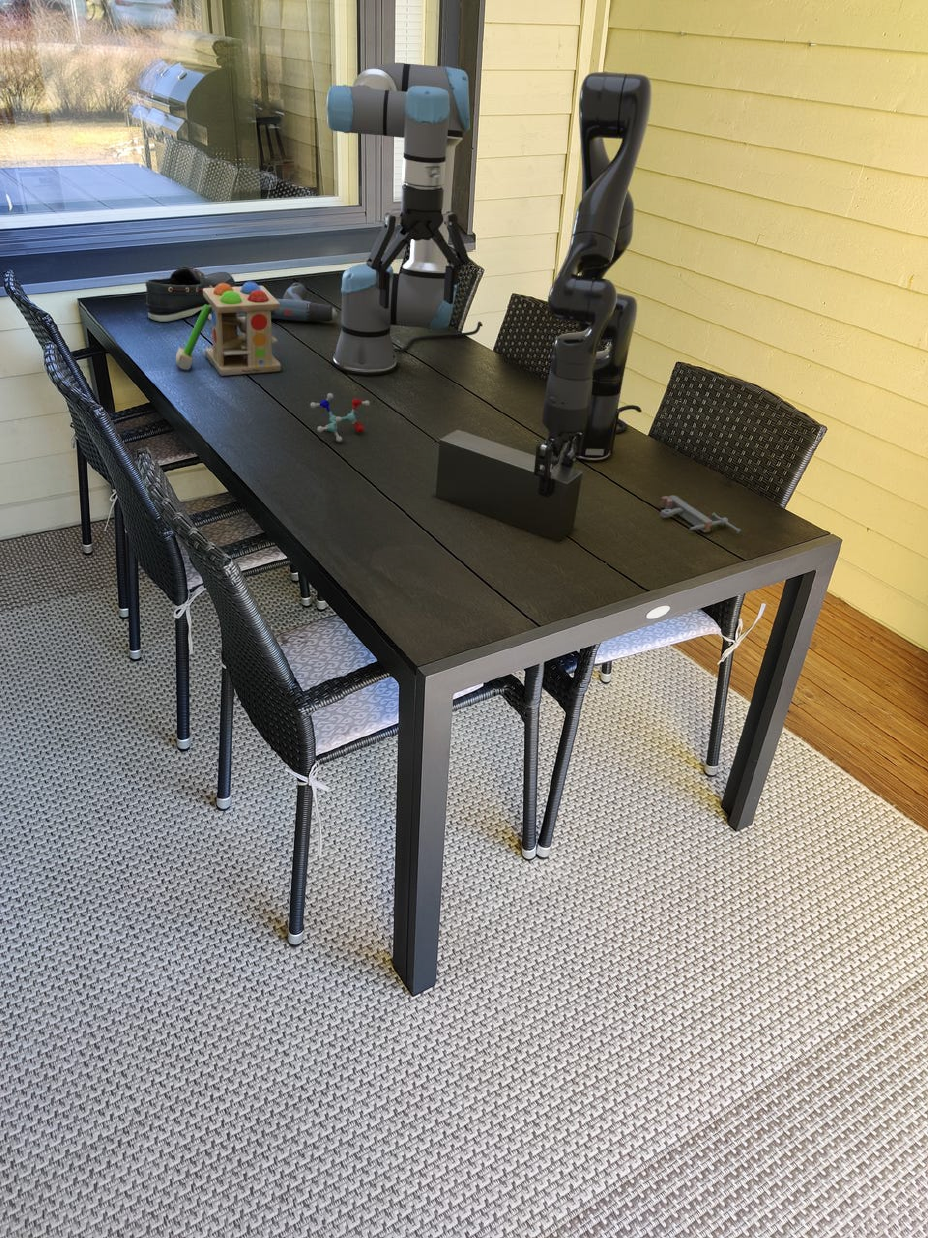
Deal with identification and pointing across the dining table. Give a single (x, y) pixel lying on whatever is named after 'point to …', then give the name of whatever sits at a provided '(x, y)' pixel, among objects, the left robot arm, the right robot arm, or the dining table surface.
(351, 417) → the molecular model
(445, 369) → the dining table surface
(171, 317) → the boat shoe
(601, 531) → the dining table surface
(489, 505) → the box
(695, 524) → the clamp
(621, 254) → the right robot arm
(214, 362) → the pounding bench toy
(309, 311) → the power drill
